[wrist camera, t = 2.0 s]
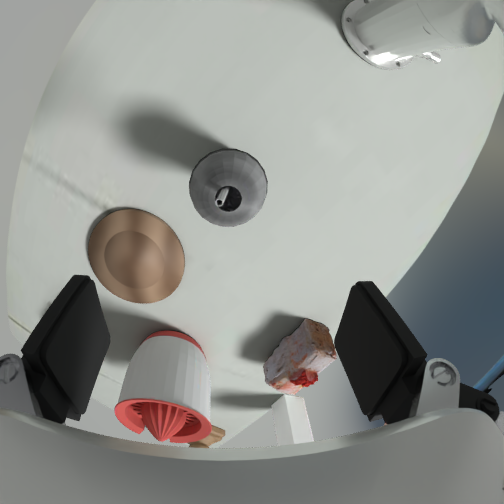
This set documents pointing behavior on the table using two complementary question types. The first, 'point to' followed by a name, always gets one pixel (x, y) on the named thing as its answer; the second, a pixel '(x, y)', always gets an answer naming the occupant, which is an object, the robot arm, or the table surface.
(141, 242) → the brown round plate
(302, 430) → the milk
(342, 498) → the robot arm
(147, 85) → the table surface
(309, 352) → the food item
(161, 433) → the citrus juicer
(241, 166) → the beverage cup
